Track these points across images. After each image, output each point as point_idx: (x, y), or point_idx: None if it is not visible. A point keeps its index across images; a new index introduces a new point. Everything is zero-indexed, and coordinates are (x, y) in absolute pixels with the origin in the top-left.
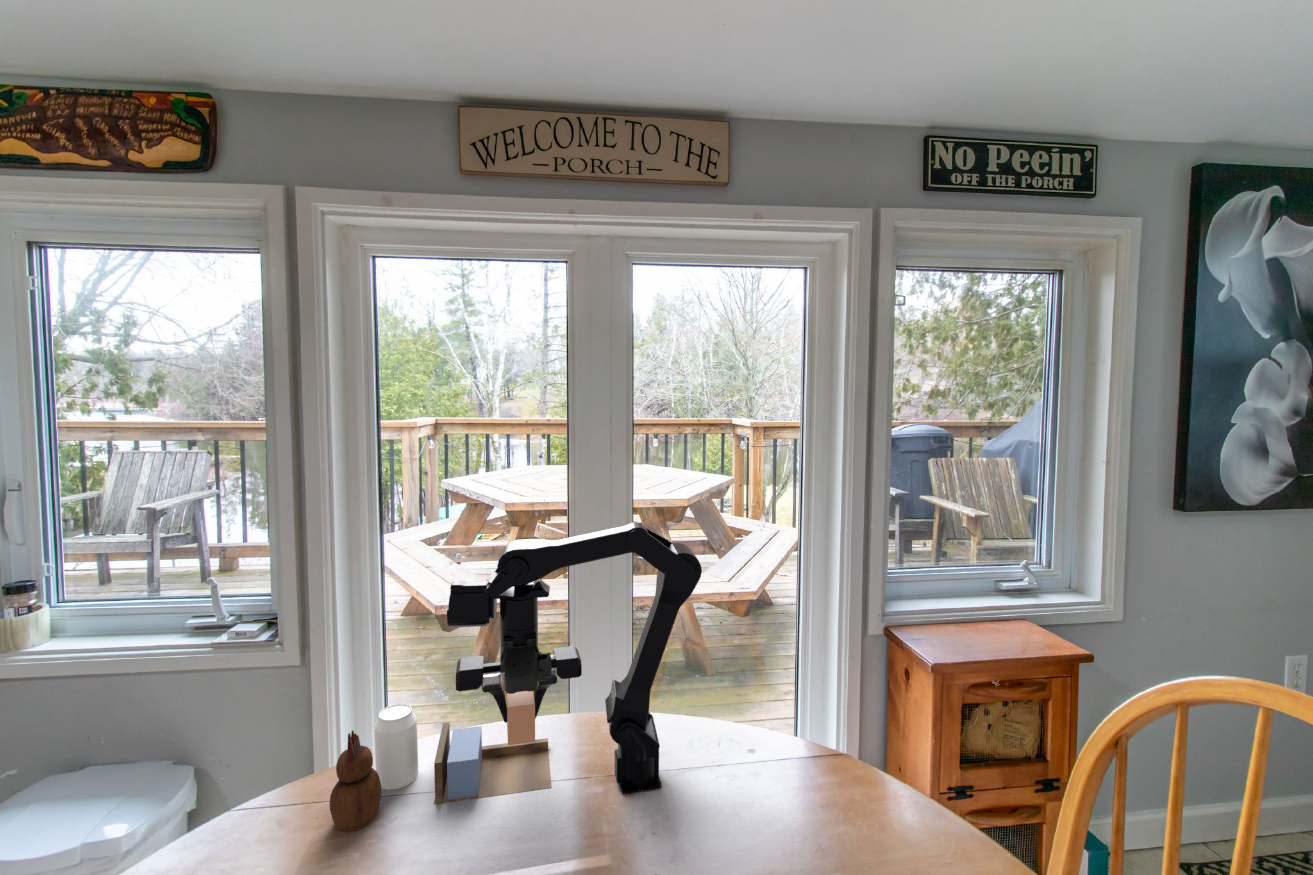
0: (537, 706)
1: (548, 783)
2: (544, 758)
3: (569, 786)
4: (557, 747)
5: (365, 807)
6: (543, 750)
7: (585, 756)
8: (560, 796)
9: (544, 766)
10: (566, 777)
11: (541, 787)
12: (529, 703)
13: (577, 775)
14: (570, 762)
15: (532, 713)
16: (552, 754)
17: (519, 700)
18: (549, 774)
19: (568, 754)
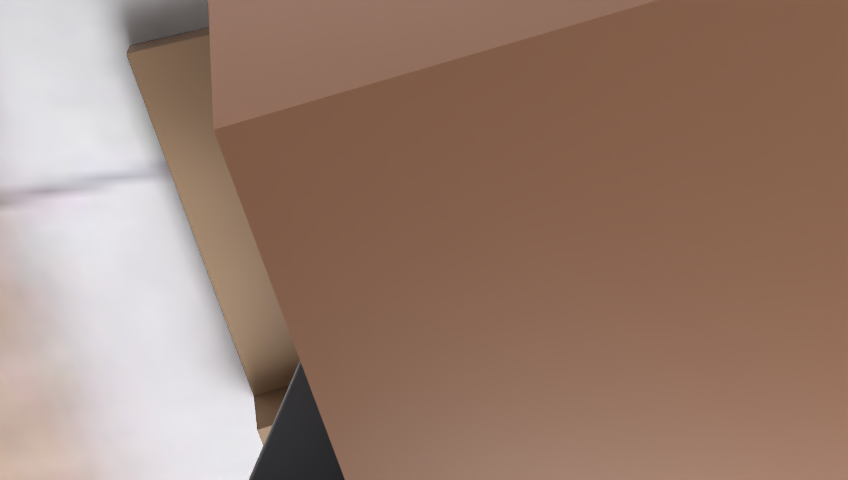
0: (290, 474)
1: (161, 95)
2: (256, 322)
3: (23, 120)
4: (215, 440)
5: None
6: (281, 385)
7: (11, 396)
8: (55, 18)
9: (236, 254)
10: (75, 204)
11: (200, 54)
12: (478, 148)
13: (2, 228)
14: (94, 335)
15: (283, 9)
16: (229, 384)
17: (831, 310)
18: (181, 184)
19: (130, 397)
